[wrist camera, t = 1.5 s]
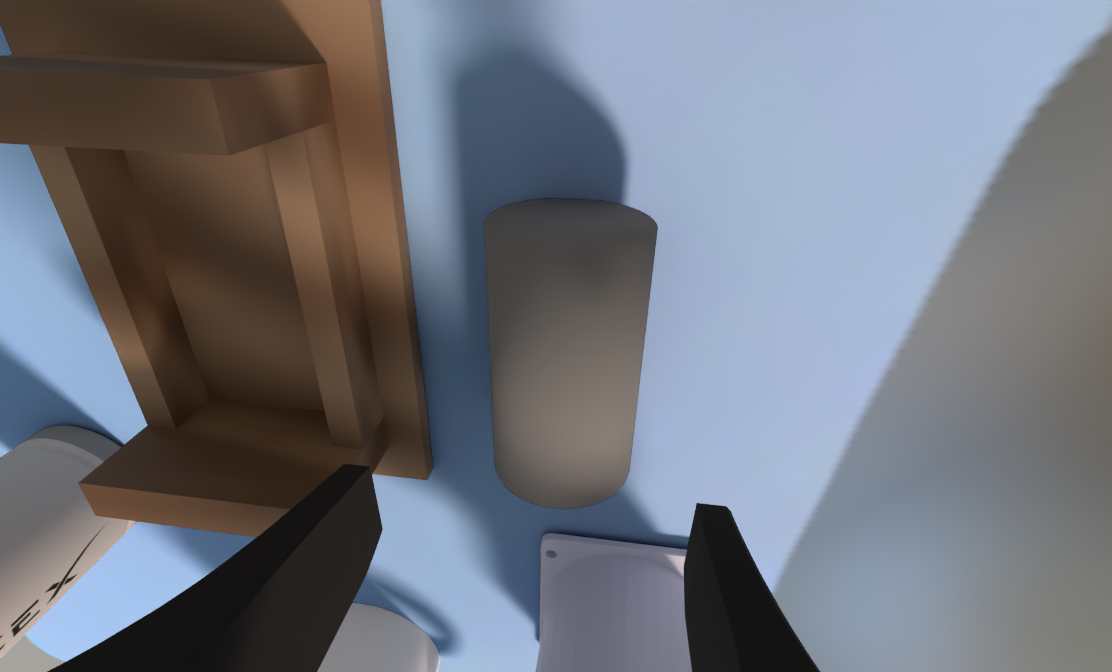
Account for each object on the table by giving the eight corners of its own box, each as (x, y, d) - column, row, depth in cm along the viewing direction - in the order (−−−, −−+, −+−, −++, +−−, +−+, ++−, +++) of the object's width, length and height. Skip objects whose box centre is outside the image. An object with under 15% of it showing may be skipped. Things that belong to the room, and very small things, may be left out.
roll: (631, 422, 23) (629, 516, 18) (509, 410, 23) (479, 499, 19) (655, 202, 18) (660, 259, 14) (504, 193, 19) (464, 246, 14)
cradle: (433, 467, 25) (379, 583, 20) (185, 439, 26) (74, 542, 21) (380, -1, 16) (258, -10, 11) (11, -10, 18) (-252, -21, 12)
